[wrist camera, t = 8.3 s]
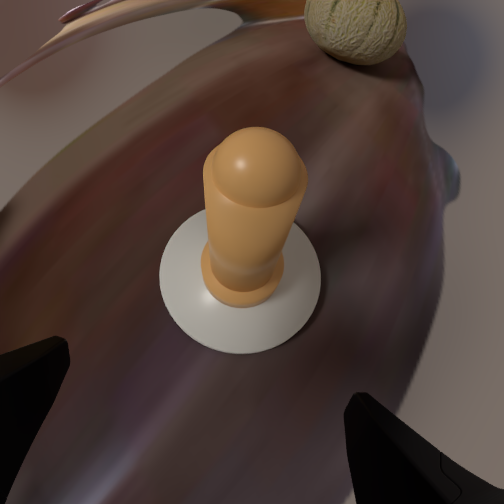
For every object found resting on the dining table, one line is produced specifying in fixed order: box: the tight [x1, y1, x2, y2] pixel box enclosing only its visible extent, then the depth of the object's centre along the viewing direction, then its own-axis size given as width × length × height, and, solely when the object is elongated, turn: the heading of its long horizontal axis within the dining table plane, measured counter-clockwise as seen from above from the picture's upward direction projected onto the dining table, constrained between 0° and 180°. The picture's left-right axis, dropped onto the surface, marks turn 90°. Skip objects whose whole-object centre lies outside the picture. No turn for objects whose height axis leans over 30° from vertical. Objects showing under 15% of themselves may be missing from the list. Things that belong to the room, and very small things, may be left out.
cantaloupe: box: [304, 0, 407, 65], centre depth 31 cm, size 15×15×15 cm
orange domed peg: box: [201, 127, 308, 308], centre depth 15 cm, size 5×5×12 cm
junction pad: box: [160, 209, 321, 354], centre depth 21 cm, size 11×11×1 cm
